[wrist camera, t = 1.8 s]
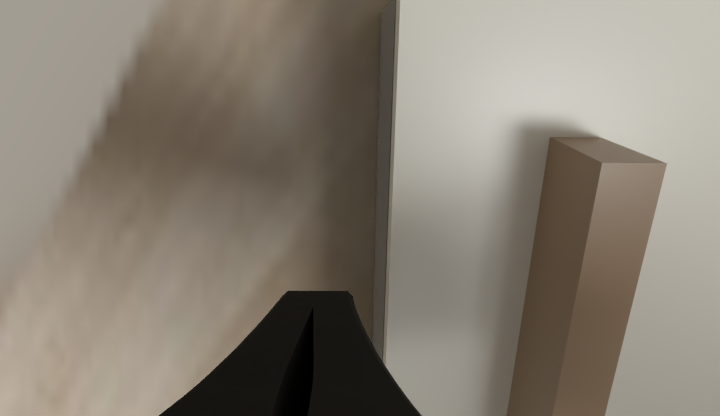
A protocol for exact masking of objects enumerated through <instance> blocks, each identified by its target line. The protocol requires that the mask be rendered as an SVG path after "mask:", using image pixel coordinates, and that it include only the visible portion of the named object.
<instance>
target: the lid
mask: <svg viewBox="0 0 720 416" xmlns="http://www.w3.org/2000/svg"><path fill="white" fill-rule="evenodd" d="M383 363H384V365H385V366H386V368H387V369H388V371H389V372H390V374H391V375H392V377H393V378H394V380H395V381H396V383H397V384H398V386H399V387H400V388H401V390H402V391H403V392H404V394H405V395H406V396H407V398H408V399H409V400H410V402H411V403H412V404H413V405H414V407H415V408H416V409H417V410H418V412H419V413H420V414H421V415H422V416H720V0H396V26H395V53H394V80H393V107H392V133H391V160H390V187H389V214H388V241H387V268H386V295H385V322H384V349H383Z"/></svg>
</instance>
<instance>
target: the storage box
mask: <svg viewBox="0 0 720 416" xmlns="http://www.w3.org/2000/svg"><path fill="white" fill-rule="evenodd" d="M395 26H396V0H393V1H392V2H391V3H390V4H389V5H388V6H387V7H386V8H385V9H384V10H383V11H382V12H381V37H380V74H379V111H378V148H377V185H376V222H375V259H374V296H373V333H372V344H373V346H374V348H375V350H376V351H377V353H378V355H379V357H380V358H381V360H382V361H383V349H384V322H385V295H386V268H387V241H388V214H389V187H390V160H391V133H392V107H393V80H394V53H395Z"/></svg>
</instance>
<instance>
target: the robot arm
mask: <svg viewBox="0 0 720 416" xmlns="http://www.w3.org/2000/svg"><path fill="white" fill-rule="evenodd" d="M159 416H422V415H421V414H420V413H419V412H418V410H417V409H416V408H415V407H414V405H413V404H412V403H411V402H410V400H409V399H408V398H407V396H406V395H405V394H404V392H403V391H402V390H401V388H400V387H399V386H398V384H397V383H396V381H395V380H394V378H393V377H392V375H391V374H390V372H389V371H388V369H387V368H386V366H385V365H384V363H383V361H382V360H381V358H380V357H379V355H378V353H377V351H376V350H375V348H374V346H373V344H372V342H371V341H370V339H369V337H368V335H367V333H366V331H365V329H364V327H363V325H362V323H361V321H360V318H359V316H358V314H357V311H356V308H355V305H354V301H353V296H352V295H351V294H350V293H349V292H348V291H287V292H286V293H285V294H284V295H283V296H282V297H281V298H280V300H279V301H278V302H277V303H276V304H275V306H274V307H273V308H272V309H271V310H270V312H269V313H268V314H267V315H266V316H265V317H264V319H263V320H262V321H261V322H260V323H259V324H258V325H257V326H256V328H255V329H254V330H253V331H252V332H251V333H250V334H249V335H248V336H247V337H246V338H245V339H244V340H243V341H242V342H241V343H240V345H239V346H238V347H237V348H236V349H235V350H234V351H233V352H232V353H231V354H230V355H229V356H228V357H227V358H225V359H224V360H223V361H222V362H221V363H220V364H219V365H218V366H217V367H216V368H215V369H214V370H213V371H212V372H211V373H210V374H209V375H207V376H206V377H205V378H204V379H203V380H202V381H201V382H200V383H199V384H197V385H196V386H195V387H194V388H193V389H192V390H191V391H189V392H188V393H187V394H186V395H185V396H183V397H182V398H181V399H180V400H178V401H177V402H176V403H174V404H173V405H172V406H171V407H169V408H168V409H167V410H165V411H164V412H163V413H162V414H160V415H159Z"/></svg>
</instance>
